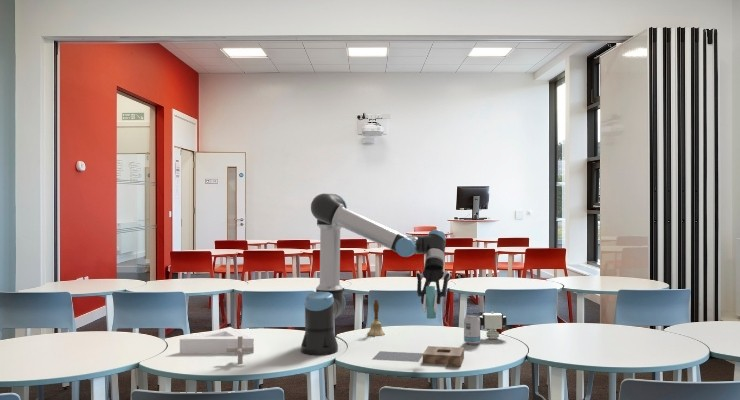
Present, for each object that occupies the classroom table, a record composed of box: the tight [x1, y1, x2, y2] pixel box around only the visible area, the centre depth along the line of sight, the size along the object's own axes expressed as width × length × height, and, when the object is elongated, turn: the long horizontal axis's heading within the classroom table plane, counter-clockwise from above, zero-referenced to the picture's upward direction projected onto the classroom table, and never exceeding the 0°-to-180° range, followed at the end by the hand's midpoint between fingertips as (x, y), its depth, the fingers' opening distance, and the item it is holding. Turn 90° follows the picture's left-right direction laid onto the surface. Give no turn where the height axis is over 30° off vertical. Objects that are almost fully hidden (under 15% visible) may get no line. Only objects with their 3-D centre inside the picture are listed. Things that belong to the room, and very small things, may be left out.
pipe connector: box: [227, 336, 255, 365], centre depth 241 cm, size 10×10×10 cm
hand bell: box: [366, 299, 386, 337], centre depth 294 cm, size 8×8×16 cm
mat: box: [371, 350, 424, 363], centre depth 248 cm, size 18×14×1 cm
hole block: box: [422, 345, 465, 368], centre depth 241 cm, size 14×14×4 cm
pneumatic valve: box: [478, 311, 508, 340], centre depth 283 cm, size 6×12×12 cm, turn 87°
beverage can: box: [463, 314, 481, 346], centre depth 273 cm, size 7×7×12 cm
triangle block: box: [179, 326, 255, 354], centre depth 271 cm, size 30×26×6 cm
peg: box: [426, 285, 437, 320], centre depth 244 cm, size 4×4×12 cm
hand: (429, 310), depth 240 cm, fingers closed on peg, 3 cm apart
